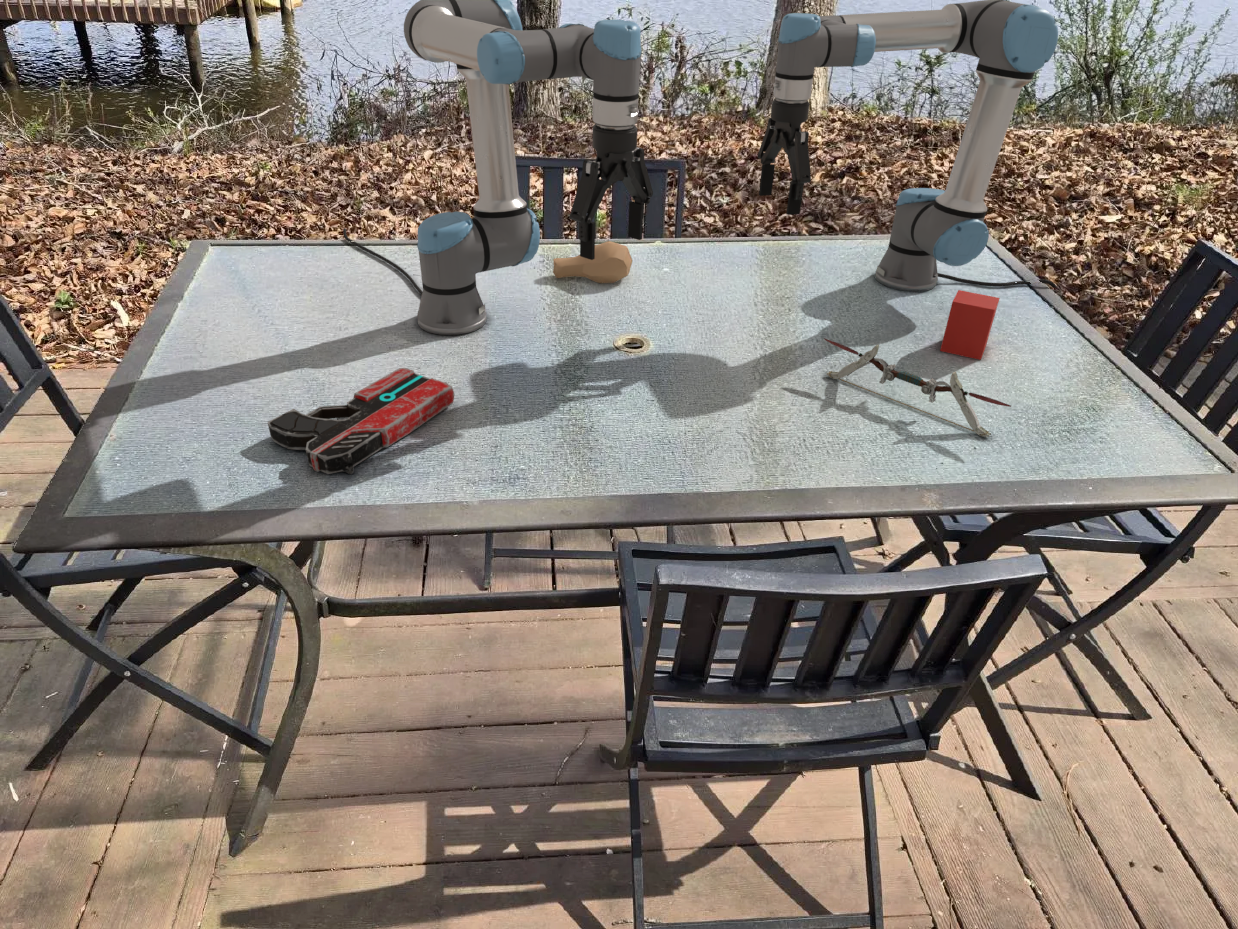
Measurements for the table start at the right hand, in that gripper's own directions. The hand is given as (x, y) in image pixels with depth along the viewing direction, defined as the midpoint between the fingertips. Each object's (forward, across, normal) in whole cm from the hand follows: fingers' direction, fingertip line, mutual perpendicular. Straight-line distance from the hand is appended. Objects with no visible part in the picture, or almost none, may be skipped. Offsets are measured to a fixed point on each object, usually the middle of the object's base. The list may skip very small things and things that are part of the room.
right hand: (778, 204), depth 189 cm
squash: (+26, -32, -33) cm, 53 cm away
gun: (+26, +26, -92) cm, 99 cm away
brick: (+26, +26, +35) cm, 51 cm away
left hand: (-2, +23, -45) cm, 50 cm away
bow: (+26, +45, +8) cm, 53 cm away
